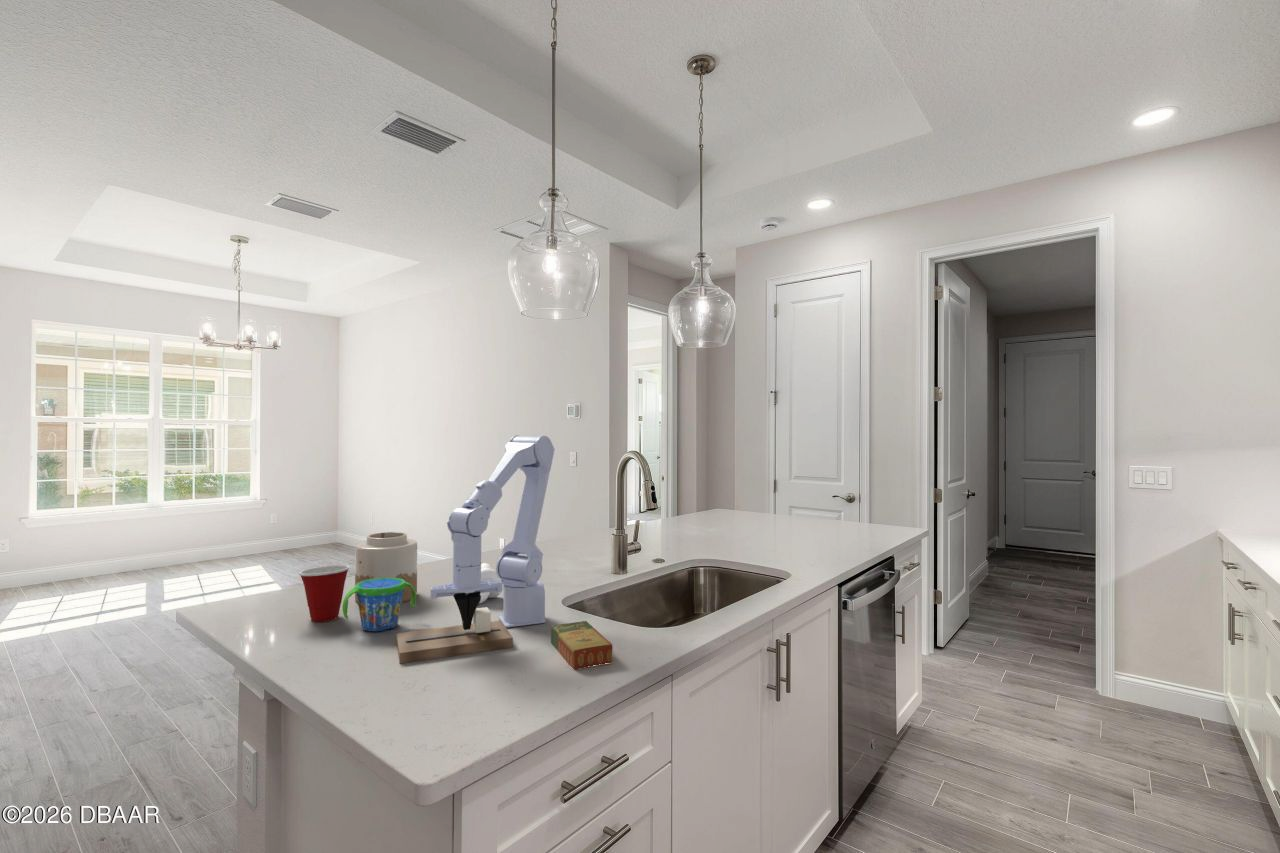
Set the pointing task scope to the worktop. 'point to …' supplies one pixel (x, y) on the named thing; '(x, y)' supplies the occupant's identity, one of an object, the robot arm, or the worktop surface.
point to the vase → (387, 560)
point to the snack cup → (379, 602)
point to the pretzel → (489, 575)
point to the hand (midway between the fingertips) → (466, 628)
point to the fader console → (451, 642)
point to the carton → (581, 644)
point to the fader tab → (482, 620)
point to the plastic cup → (324, 591)
